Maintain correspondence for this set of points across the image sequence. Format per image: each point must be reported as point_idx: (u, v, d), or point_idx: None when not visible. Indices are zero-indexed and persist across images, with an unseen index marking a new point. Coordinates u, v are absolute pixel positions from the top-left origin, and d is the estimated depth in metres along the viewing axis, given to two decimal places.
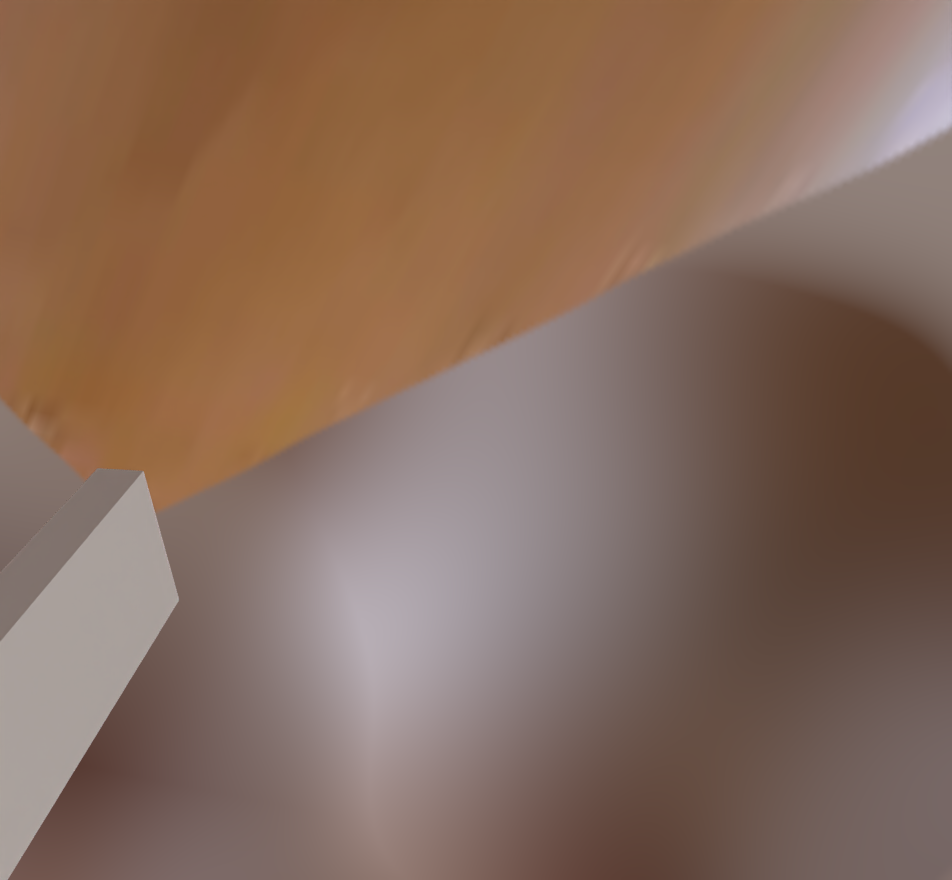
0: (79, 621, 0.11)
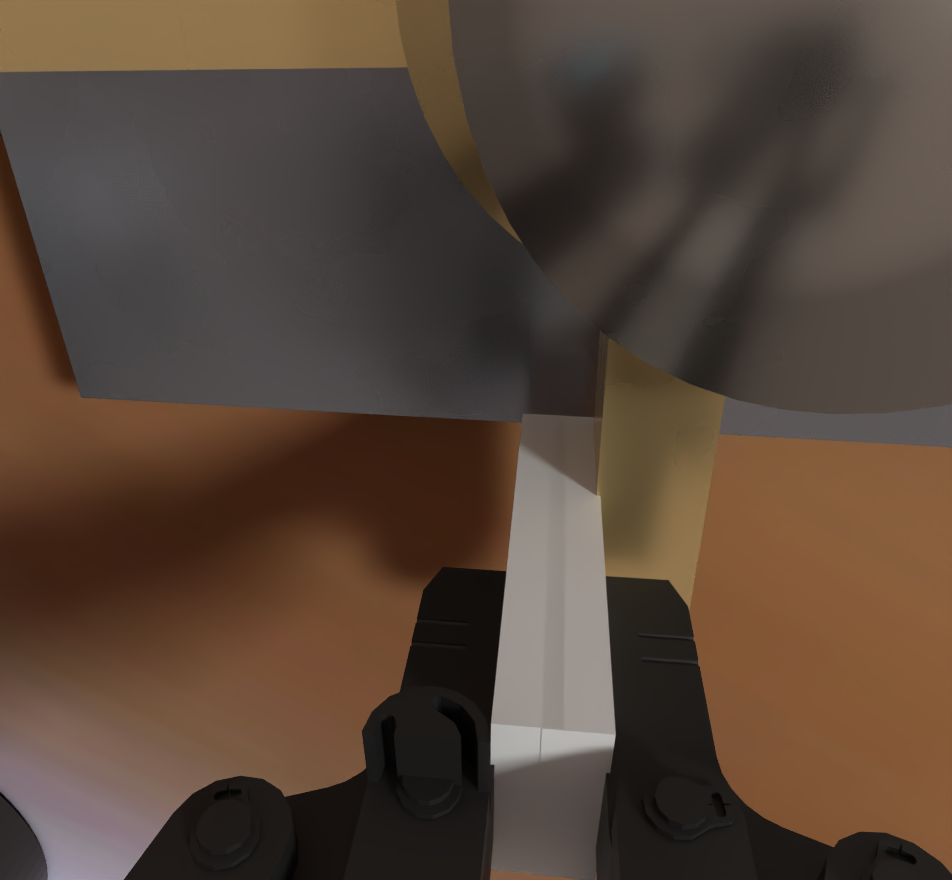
0: None
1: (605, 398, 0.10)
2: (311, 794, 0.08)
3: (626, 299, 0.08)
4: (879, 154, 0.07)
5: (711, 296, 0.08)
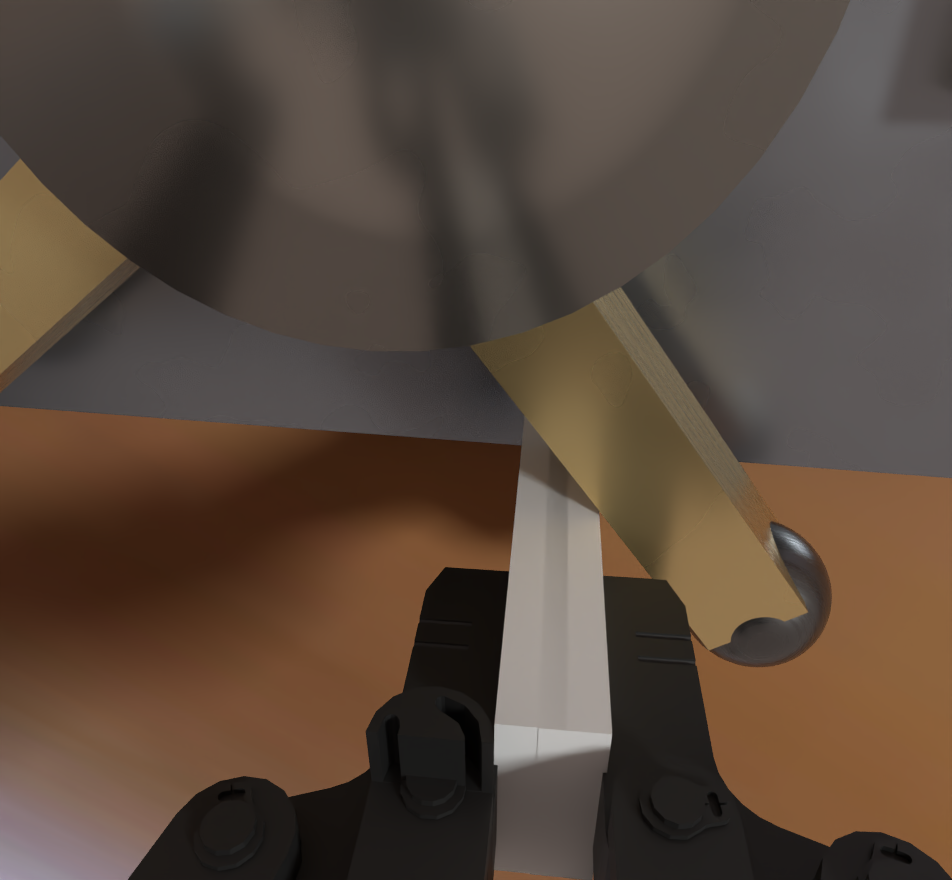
0: None
1: None
2: (314, 794, 0.08)
3: (356, 311, 0.08)
4: (431, 44, 0.06)
5: (416, 261, 0.07)
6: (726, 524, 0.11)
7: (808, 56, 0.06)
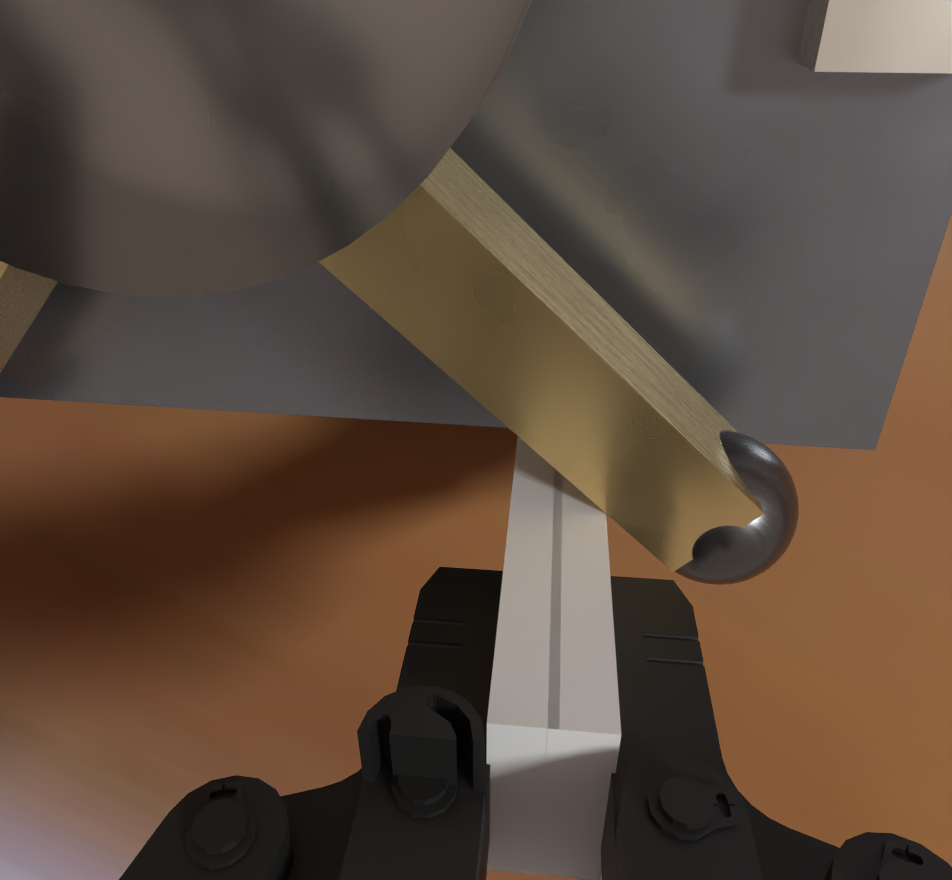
0: None
1: None
2: (306, 794, 0.08)
3: (186, 255, 0.08)
4: None
5: (226, 190, 0.07)
6: (653, 431, 0.10)
7: None
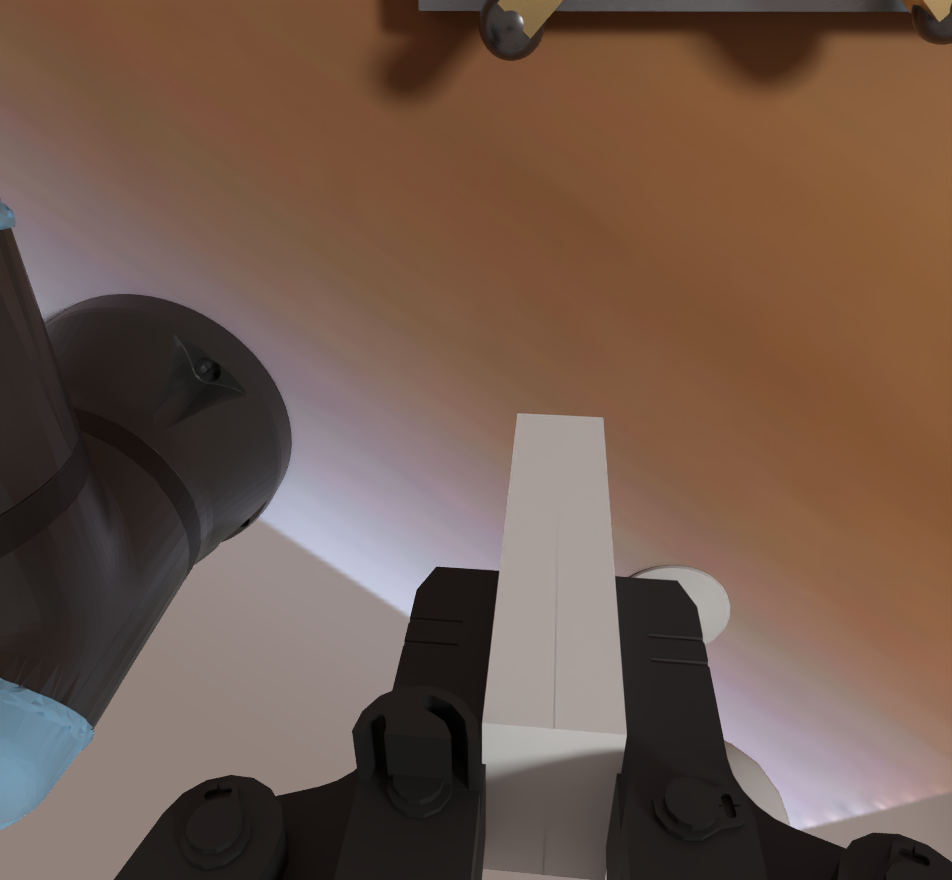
0: None
1: None
2: (302, 793, 0.08)
3: None
4: None
5: None
6: None
7: None
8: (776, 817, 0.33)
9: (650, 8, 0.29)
